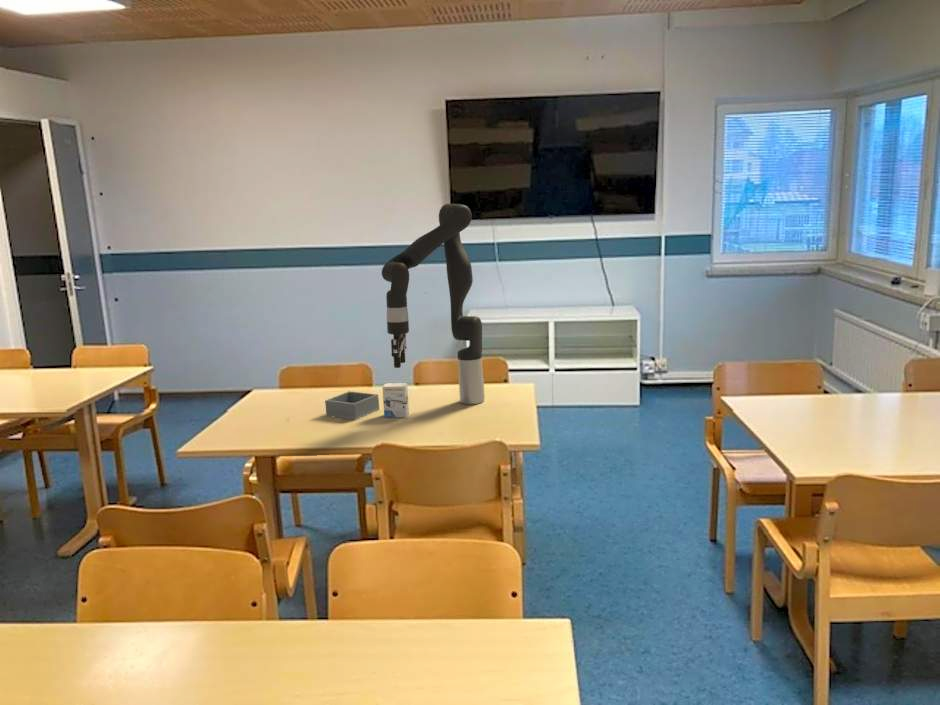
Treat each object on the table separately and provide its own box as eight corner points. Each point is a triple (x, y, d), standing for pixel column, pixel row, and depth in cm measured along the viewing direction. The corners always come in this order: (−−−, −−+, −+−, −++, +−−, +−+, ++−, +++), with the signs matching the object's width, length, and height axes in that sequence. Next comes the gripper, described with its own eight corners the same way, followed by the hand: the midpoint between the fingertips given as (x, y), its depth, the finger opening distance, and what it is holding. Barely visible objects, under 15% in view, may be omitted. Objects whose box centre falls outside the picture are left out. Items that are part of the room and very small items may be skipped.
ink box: (383, 417, 267) (381, 386, 264) (386, 413, 272) (384, 383, 269) (407, 417, 266) (404, 386, 263) (409, 413, 271) (407, 382, 268)
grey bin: (350, 406, 285) (349, 391, 283) (379, 409, 278) (378, 394, 276) (326, 416, 273) (325, 400, 272) (356, 420, 266) (354, 404, 265)
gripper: (404, 322, 248) (406, 369, 251) (411, 316, 262) (413, 360, 265) (382, 323, 248) (385, 369, 252) (391, 316, 262) (393, 361, 266)
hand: (399, 365), depth 258 cm, fingers open, 8 cm apart
